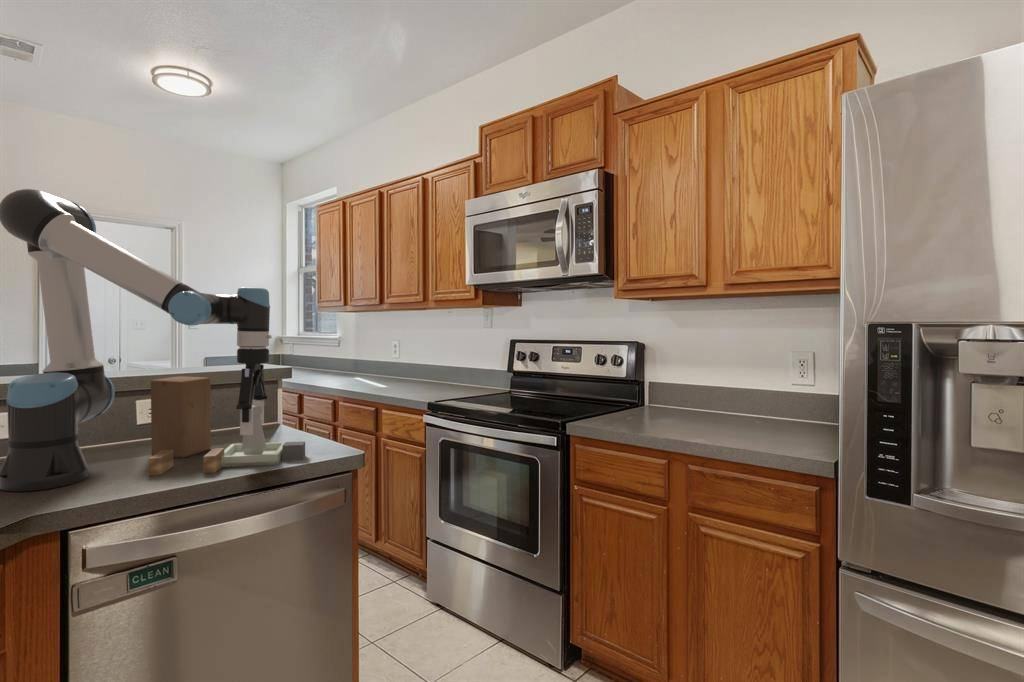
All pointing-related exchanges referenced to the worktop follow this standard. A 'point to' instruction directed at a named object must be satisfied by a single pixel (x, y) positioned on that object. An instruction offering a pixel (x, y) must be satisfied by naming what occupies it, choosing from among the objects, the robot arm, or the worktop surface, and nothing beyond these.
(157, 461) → the wooden blocks
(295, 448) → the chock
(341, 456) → the worktop surface
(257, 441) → the salt shaker
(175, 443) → the wooden block
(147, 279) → the robot arm
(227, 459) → the tray
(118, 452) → the worktop surface
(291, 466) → the worktop surface
